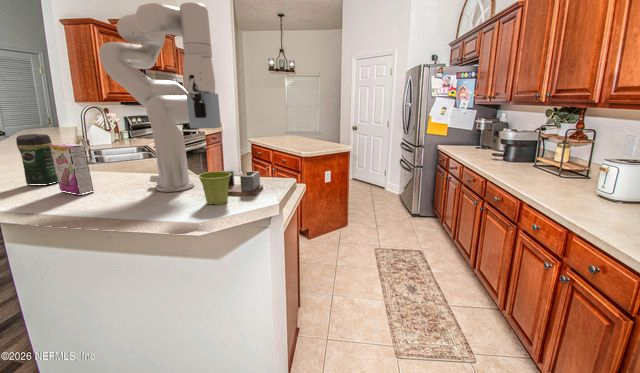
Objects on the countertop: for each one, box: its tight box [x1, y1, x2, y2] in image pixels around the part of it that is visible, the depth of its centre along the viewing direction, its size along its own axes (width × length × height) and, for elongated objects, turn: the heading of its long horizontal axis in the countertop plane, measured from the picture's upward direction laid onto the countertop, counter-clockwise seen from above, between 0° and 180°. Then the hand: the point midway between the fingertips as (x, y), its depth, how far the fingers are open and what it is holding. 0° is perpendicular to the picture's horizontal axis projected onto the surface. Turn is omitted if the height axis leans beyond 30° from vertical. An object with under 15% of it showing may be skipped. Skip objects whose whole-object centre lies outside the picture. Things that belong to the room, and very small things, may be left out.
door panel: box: [186, 92, 222, 129], centre depth 98 cm, size 8×4×10 cm, turn 81°
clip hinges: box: [222, 170, 261, 191], centre depth 110 cm, size 13×8×5 cm, turn 85°
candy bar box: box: [49, 142, 95, 194], centre depth 108 cm, size 11×5×16 cm, turn 65°
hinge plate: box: [228, 183, 264, 197], centre depth 111 cm, size 15×9×1 cm, turn 85°
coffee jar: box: [15, 133, 58, 185], centre depth 119 cm, size 10×8×19 cm
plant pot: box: [198, 170, 231, 206], centre depth 98 cm, size 9×9×9 cm
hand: (204, 116), depth 98 cm, fingers closed on door panel, 4 cm apart
